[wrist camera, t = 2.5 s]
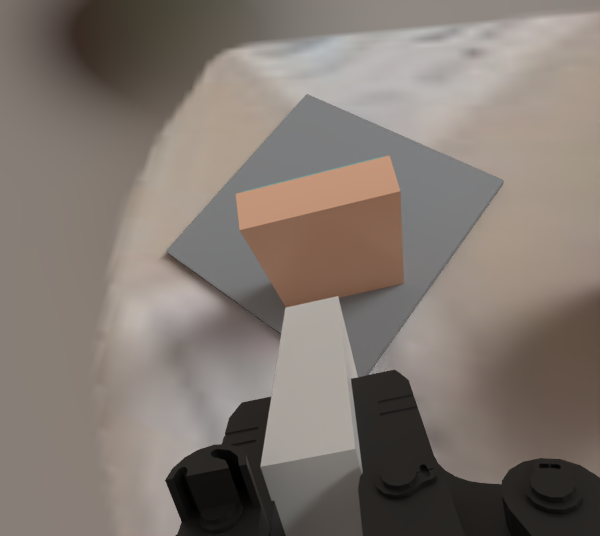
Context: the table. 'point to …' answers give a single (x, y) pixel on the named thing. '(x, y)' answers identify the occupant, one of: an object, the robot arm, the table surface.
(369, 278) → the block
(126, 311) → the table surface
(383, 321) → the mat
